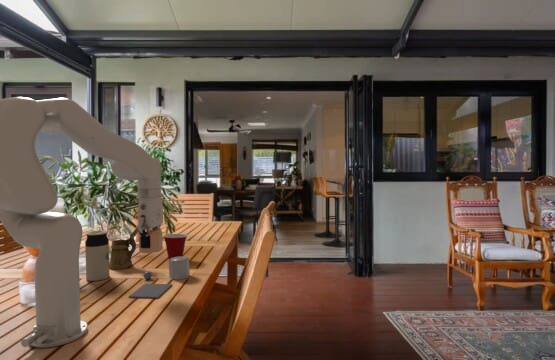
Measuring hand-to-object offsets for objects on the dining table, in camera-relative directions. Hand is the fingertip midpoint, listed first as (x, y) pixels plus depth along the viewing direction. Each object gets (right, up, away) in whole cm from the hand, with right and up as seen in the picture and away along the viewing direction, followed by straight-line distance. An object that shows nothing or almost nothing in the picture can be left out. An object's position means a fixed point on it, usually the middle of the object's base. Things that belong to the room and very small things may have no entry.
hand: (150, 244), depth 116 cm
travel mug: (-26, -16, +15) cm, 34 cm away
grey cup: (+5, -16, +16) cm, 23 cm away
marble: (-6, -16, +13) cm, 21 cm away
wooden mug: (-22, -15, +29) cm, 40 cm away
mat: (0, -16, +1) cm, 16 cm away
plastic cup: (-3, -15, +39) cm, 42 cm away
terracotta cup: (0, -2, 0) cm, 2 cm away
